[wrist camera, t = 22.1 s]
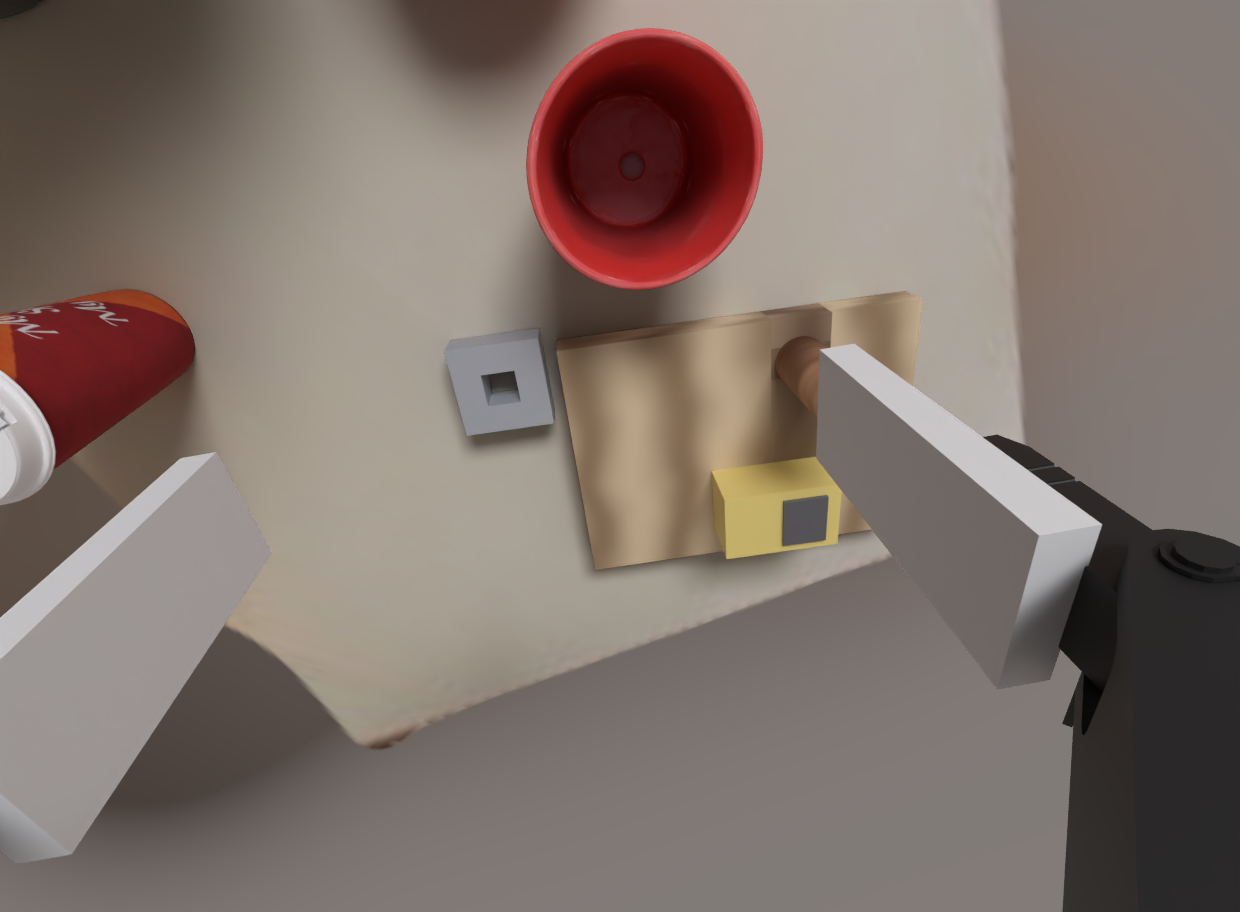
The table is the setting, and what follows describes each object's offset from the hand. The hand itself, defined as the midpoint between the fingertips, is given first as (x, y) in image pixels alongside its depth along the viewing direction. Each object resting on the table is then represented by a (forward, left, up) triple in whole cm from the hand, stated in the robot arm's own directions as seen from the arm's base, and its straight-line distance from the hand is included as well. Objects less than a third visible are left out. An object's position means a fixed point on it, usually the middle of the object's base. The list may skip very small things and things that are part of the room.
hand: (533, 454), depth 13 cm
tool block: (-5, -8, -27) cm, 29 cm away
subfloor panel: (+11, -15, -27) cm, 33 cm away
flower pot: (+5, +4, -28) cm, 28 cm away
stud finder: (+13, -19, -25) cm, 34 cm away
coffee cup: (-27, -2, -28) cm, 39 cm away
